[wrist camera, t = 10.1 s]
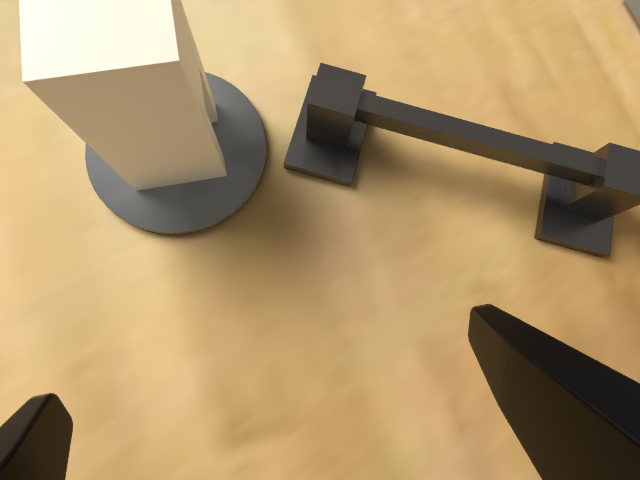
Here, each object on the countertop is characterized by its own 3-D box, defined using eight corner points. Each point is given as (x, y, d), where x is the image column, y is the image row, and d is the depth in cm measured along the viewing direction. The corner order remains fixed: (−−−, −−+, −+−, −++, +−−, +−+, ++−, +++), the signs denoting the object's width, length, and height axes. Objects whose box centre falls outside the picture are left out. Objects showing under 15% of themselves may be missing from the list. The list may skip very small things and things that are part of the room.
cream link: (226, 176, 24) (179, 60, 14) (135, 190, 24) (22, 81, 14) (215, 103, 25) (163, -50, 15) (127, 116, 25) (17, -34, 15)
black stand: (602, 257, 25) (666, 238, 20) (284, 167, 25) (281, 130, 21) (612, 164, 26) (674, 128, 22) (312, 80, 26) (315, 29, 22)
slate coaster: (253, 243, 24) (252, 240, 23) (71, 223, 24) (66, 220, 23) (275, 85, 26) (275, 79, 26) (111, 66, 26) (107, 59, 25)
